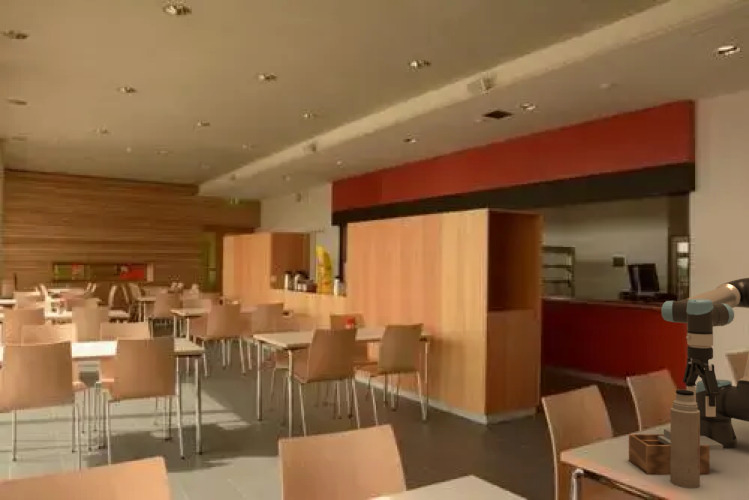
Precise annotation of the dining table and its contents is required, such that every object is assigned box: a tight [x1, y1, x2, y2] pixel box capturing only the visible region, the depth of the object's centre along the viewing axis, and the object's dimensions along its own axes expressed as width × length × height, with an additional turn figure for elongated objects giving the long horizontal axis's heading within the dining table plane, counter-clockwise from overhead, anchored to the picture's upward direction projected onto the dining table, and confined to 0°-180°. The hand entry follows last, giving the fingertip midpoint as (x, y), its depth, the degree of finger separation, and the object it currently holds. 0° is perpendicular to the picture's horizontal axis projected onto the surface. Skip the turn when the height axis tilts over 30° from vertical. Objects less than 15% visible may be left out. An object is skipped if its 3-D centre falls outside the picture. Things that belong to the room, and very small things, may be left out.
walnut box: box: [628, 433, 710, 476], centre depth 200 cm, size 20×13×9 cm, turn 92°
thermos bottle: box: [669, 389, 701, 489], centre depth 186 cm, size 8×8×28 cm
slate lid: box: [658, 428, 724, 451], centre depth 200 cm, size 16×10×4 cm, turn 92°
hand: (700, 410), depth 200 cm, fingers open, 13 cm apart
